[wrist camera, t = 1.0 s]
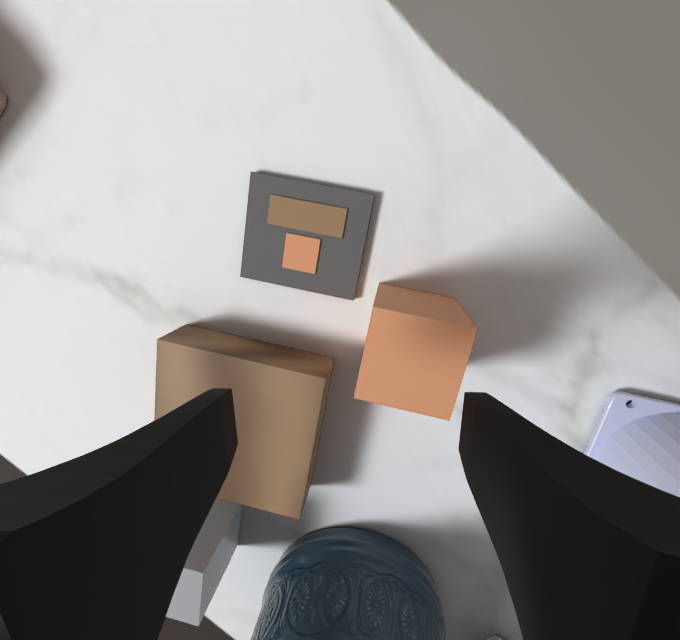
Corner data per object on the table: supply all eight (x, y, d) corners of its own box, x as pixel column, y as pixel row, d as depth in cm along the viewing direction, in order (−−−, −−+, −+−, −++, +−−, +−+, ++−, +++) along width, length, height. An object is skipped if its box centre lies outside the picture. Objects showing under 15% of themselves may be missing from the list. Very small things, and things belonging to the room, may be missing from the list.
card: (374, 194, 20) (374, 194, 20) (354, 299, 22) (353, 300, 22) (253, 172, 21) (250, 171, 20) (243, 275, 23) (239, 276, 22)
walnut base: (335, 355, 24) (325, 378, 20) (311, 481, 27) (299, 519, 23) (189, 322, 25) (157, 339, 21) (182, 448, 27) (152, 480, 24)
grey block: (243, 498, 27) (203, 573, 22) (237, 544, 29) (198, 626, 23) (186, 483, 28) (132, 552, 22) (183, 529, 29) (131, 606, 23)
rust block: (455, 298, 21) (477, 328, 16) (436, 368, 23) (449, 420, 17) (378, 282, 22) (372, 306, 16) (364, 352, 23) (353, 398, 17)
